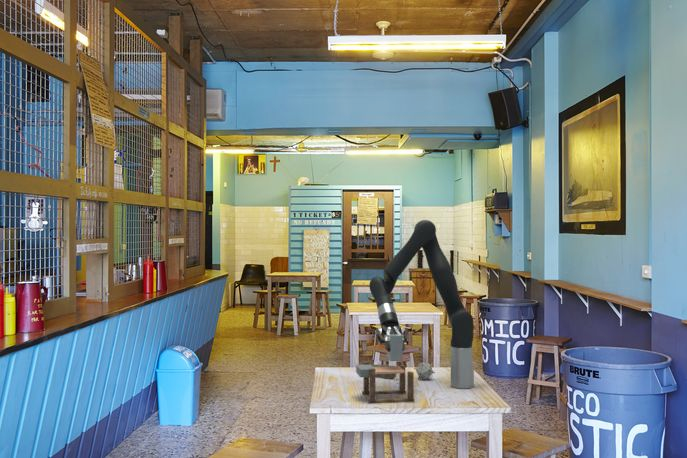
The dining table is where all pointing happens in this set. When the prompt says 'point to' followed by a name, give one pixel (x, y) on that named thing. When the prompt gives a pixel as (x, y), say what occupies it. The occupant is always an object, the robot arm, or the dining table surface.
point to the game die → (424, 370)
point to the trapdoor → (377, 370)
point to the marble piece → (384, 376)
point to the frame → (370, 389)
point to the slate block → (395, 347)
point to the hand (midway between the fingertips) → (396, 350)
